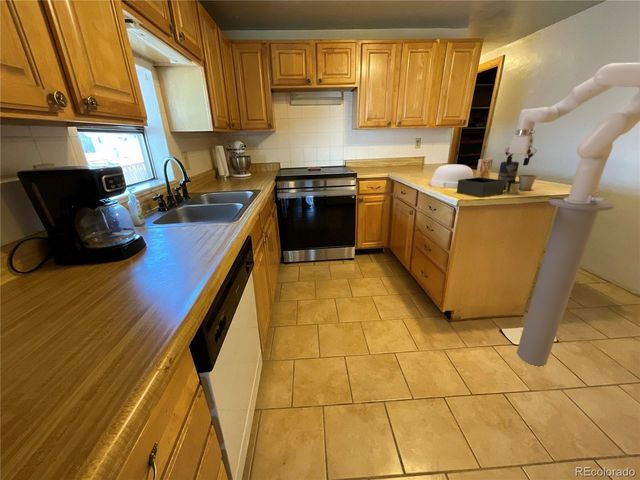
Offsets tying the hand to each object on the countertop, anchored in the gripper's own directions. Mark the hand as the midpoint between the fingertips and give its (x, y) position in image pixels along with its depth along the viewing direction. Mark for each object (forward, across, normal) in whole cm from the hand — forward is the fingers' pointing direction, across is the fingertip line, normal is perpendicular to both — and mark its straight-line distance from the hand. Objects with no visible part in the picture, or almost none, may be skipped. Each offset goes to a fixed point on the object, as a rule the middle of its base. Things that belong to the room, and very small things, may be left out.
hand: (516, 164), depth 155 cm
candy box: (+17, +44, -32) cm, 57 cm away
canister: (+17, +9, -8) cm, 21 cm away
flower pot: (+17, +1, -15) cm, 23 cm away
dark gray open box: (+17, +8, +16) cm, 25 cm away
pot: (+16, -1, 0) cm, 17 cm away
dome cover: (+17, +40, +4) cm, 44 cm away
